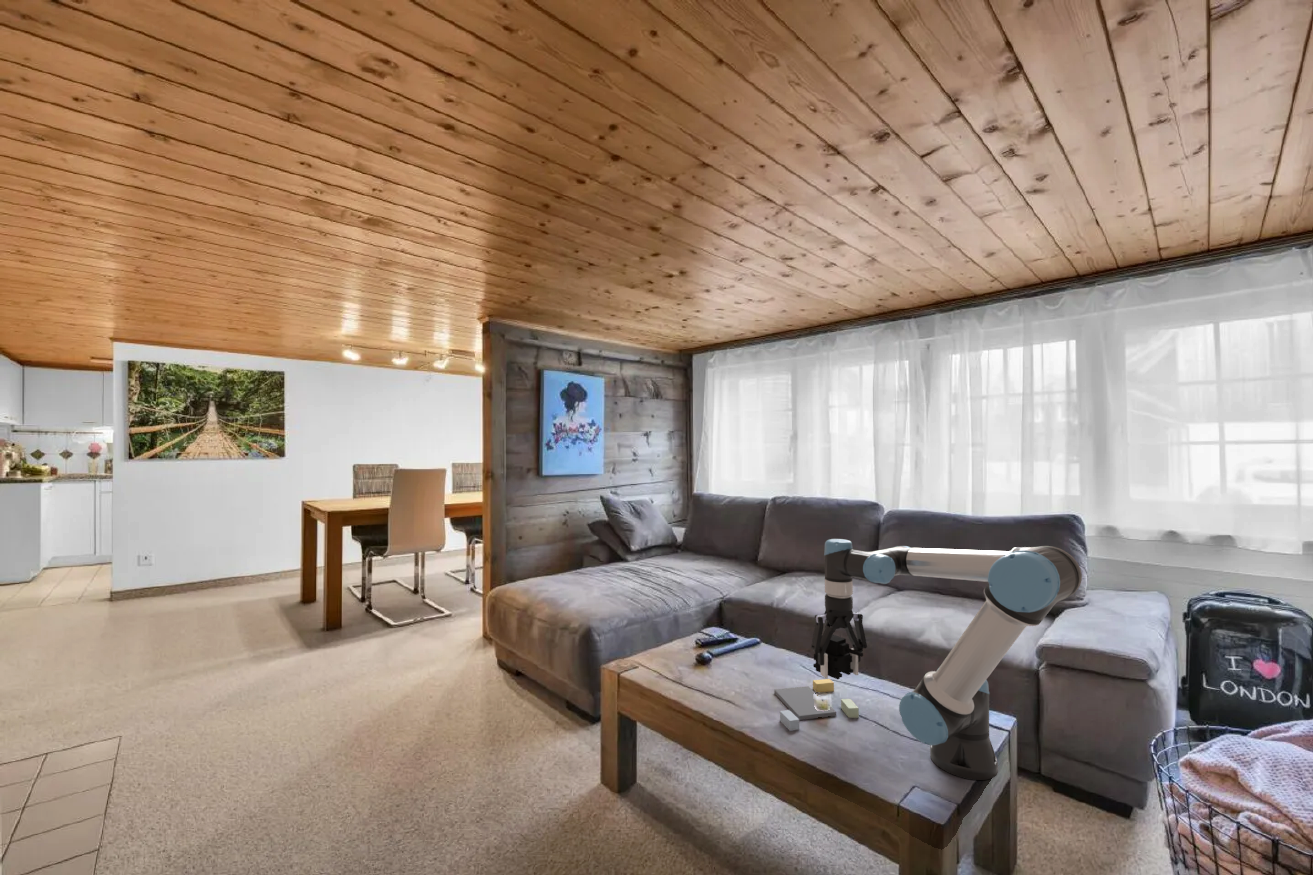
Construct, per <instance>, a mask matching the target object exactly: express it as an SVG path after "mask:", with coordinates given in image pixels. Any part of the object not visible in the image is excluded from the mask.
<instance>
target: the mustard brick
mask: <svg viewBox="0 0 1313 875" xmlns="http://www.w3.org/2000/svg"><path fill="white" fill-rule="evenodd" d="M812 690H813V691H814V692H815V693H817V692H820V693H827V692H829V693H830V692H834V691H835V682H834V681H833V680H832V679H831V678H823V679H814V680H813V679H812Z"/></svg>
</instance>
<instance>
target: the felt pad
mask: <svg viewBox="0 0 1313 875" xmlns="http://www.w3.org/2000/svg"><path fill="white" fill-rule="evenodd" d="M773 691H774V693H773V694H774V695H775V696H777V698H778V699H779V700H780V701H781V702H782V703H783V704H784V705H785V706H786V707H787V709H788V710H790V711H791V712H792V713H793V714H794V715H795V716H796V717H797V718H798V719H799V721H802V720H804V721H805V720H812V719H819V718H818V717H822V718H829V717H828V716H831V717H837V711H836V710H835V709H834V708H833V707H832V706H830V710H828V711H824V712H822V711H817V710H816V709H815V707H814V699H813V694H814V693H816V691H815V690H814V689H813V688H811V687H810V686H807V685H806V686H798V687H797V686H796V687H789V688H778V689H777V688H776V689H774V690H773Z"/></svg>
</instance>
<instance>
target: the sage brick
mask: <svg viewBox="0 0 1313 875" xmlns="http://www.w3.org/2000/svg"><path fill="white" fill-rule="evenodd" d="M840 709H841V710H842V711H843V713H844V714H845V715H846V716H847V717H848V718H849V719H852V718H853V719H858V718H859V717H860V716H859V714H860V713H859V712H860V711H859V710H860V709H859V707H858V706H857V704H856V703H855V702H854V701H853V700H852V699H851V698H841V699H840Z"/></svg>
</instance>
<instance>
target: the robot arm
mask: <svg viewBox="0 0 1313 875" xmlns="http://www.w3.org/2000/svg"><path fill="white" fill-rule="evenodd" d="M852 542H853V541H851V540H848V539H843V538H831V539H830V538H829V539H827V540H826V541H825V542H824V551H823V552H824V554H823V556H824V557H823V559H824V561H823V562H824V592H825V595H824V608H825V610H824V613H823V614H821V615H819V614H815V615H814V629H813V635H812V639H811V646H810V649H811V650H812V651H813V652H816V653H818V664H820V665H821V673H820V676H822V677H823V679H829V676H828V655H827V654H826V653H825V651H826V649H827V647H828V644H829V642H830V639H831V637H832V635H834V633H835V632H836V630H839V629H844V631H845V632H846V633H845V634H847V637H848V640H849V642H850V644H851V645H852V649H853V650H856V651H859V652H862V653H863V651H864V649H867V648H868V645H867V644H868V643H867V639H866V634H865V630H864V625H863V619H864V618H863V617H864V616H863V614H862V613H860V612H858V611H855V612H853V609H854V608H853V605H854V604H853V602H854V600H853V598H854V597H853V596H852V595H853V594H854V593H853V592H854V591H853V590H854V589H853V588H854V587H853V578H855V579H859V580H863V581H867V582H871V583H874V584H882V585H883V584H884V585H886V584H890V583H891V580H893V579H894V578H895V576H912V577H913V576H914V577H927V578H938V579H940V578H941V579H951V580H964V581H975V582H976V581H977V582H985V583H987V584H986V586H985V587H984V589H983V594H984V598H985V601H984V603H983V604H982V606H981V607H980V609H979V610H978V612H977V613H976V614H975V615H974V617H973V619H972V620H971V622H970V623H969V624H968V626H967V628H966V629H965V630H964V632H963V633H962V634H961V636H960V637H959V639H958V640H957V641H956V642H955V644H954V646H953V647H952V649H950V651H949V653H948V654H947V655H946V658H945V659H944V660H943V661H942V663H941V665H940V666H939V667H938V668H937V669H936V671H935V670H934V671H933V670H931V671H928V672H926V673H925V675H923V678H921V680H920V682H918V685H917V686H916V688H914V690H913V691H911V692H909V691H908V692H907V693H905V695H904V696H903V697H902V698H901V699H900V701H899V705H898V706H899V707H898V711H899V715H900V717H901V721H902V723H903V726H904V727H905V729H906V730H907V731H908V732H909V734H910V735H911V736H912V737H914V738H915V739H916V740H918V742H920V743H922V744H924V745H929V754H930V755H929V756H930V759H931V761H932V762H933V763H934V764H935V765H936V766H937V767H938V768H940V769H941V770H943V771H945V772H946V773H949V774H951V775H953V776H956V777H960V778H963V779H967V780H973V781H975V780H976V781H986V780H992V779H994V778H995V777H997V775H998V773H999V763H998V762H999V761H998V759H997V756H996V754H995V753H996V752H995V749H994V748H993V744H992V741H991V739H990V694H991V692H990V691H989V690H990V688H989V687H990V686H989V682H988V680H987V679H988V678H989V677H990V675H991V674H992V673H993V671H995V669H996V667H997V666H998V665H999V663H1000V662H1001V661H1002V659H1003V658H1004V657H1005V656H1006V654H1007V653H1008V652H1009V650H1010V649H1011V647H1012V646H1013V645H1014V643H1015V642H1016V641H1017V639H1018V638H1019V637H1020V635H1021V634H1022V633H1023V631H1024V630H1025V629H1026V628H1027V627H1034V626H1035V627H1036V626H1038V625H1040V624H1042V621H1043V620H1044V619H1045V618H1046V616H1047V614H1049V612H1050V611H1051V610H1052V608H1053V607H1054V606H1055V605H1056V604H1057V603H1059V602H1060V601H1064V600H1065V599H1067V598H1069V597H1071V596H1073V595H1074V594H1075V593H1076V592H1077V591H1078V589H1079V588H1080V586H1081V584H1082V581H1083V580H1082V578H1083V574H1082V570H1081V567H1080V565H1079V563H1078V561H1077V560H1076V559H1075V558H1074V556H1072V555H1071V554H1069V552H1066V551H1065V550H1064V549H1061V548H1059V547H1057V546H1051V545H1050V546H1049V545H1041V546H1031V547H1030V546H1028V547H1026V546H1024V547H1023V546H1021V547H1019V546H1017V547H1013V548H1012V549H1011V550H1009V551H1006V550H982V549H981V550H980V549H979V550H978V549H957V548H956V549H954V548H925V547H923V548H922V547H910V546H907V545H895V546H892V547H889V548H883V549H879V550H873V551H863V550H857V549H854V547H853V543H852ZM852 620H853V622H854V623H853V624H854V628H855V632H854V628H853V626H852V624H851V621H852ZM825 621H826V622H825ZM824 624H825V627H824ZM821 637H822V638H821ZM850 655H851V656H852V662H851V663H850V668H851V669H853V673H852V674H853V675H855V676H858V675H859V663H860V662H861V660H862V659H861V656H858V655H855V654H852V653H850Z"/></svg>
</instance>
